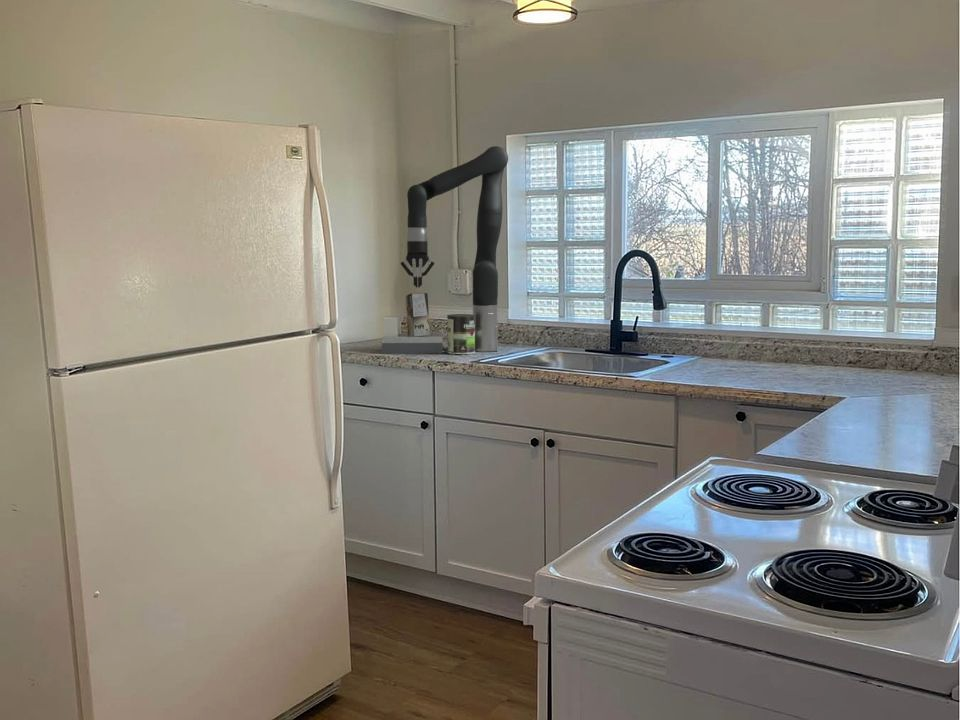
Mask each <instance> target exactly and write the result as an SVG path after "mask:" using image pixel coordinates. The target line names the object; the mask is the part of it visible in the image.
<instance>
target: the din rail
mask: <svg viewBox="0 0 960 720" xmlns="http://www.w3.org/2000/svg"><path fill="white" fill-rule="evenodd" d="M442 340H443V341H444V339H443V332H430V336H426V337H408V332H407V333H406V332H405V333H404V332H399V337H384V336H382V337H381V344H382V343H442Z"/></svg>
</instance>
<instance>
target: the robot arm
mask: <svg viewBox="0 0 960 720" xmlns="http://www.w3.org/2000/svg"><path fill="white" fill-rule="evenodd" d="M508 162H509V154H508V152H507V150H505V149H504V148H503V147H501V146H498V145H497V146H495V145H494V146H490V147H489V148H486V150H485V151H484V152H482V153H481V154H479V155H478V156H477V157H475V158H473V159H472V160H469V161H468V162H465V163H462V164H460V165H458V166H456V167H453V168H450V169H447V170H445V171H442V172H440V173H438V174H436V175H434V176H432V177H431V178H429V179H427V180H425V181H422V182H420V183H417V184H413V185H412V186H410V187H409V188H408V189H407V191H406V192H407V193H406V194H407V195H406V196H407V197H406V198H407V208H408V209H407V210H408V212H407V233H406V251H407V253H406V256H405V259H404V260H403V261H401V262H400V265H401V267H402V268H403V269H404V271H405V273H407V274H408V276H410V277H412V278H413V287H414V286H415V288H421V286H422V285H423V277H424V276H427V275H428V273H429V272H430V271H431V269H432V268H433V267H434V265H435V262H434V261H433V260H431V259H430V257H429V252H428V251H429V250H428V248H429V247H428V246H429V244H428V238H429V237H428V229H427V227H428V225H427V223H428V222H427V220H428V219H427V202H428V201H429V200H431V199H433V198H435V197H437V196H440V195H443V194H445V193H448V192H449V191H452V190H454V189H456V188H458V187H460V186H462V185H464V184H465V183H467V182H469V181H471V180H473V179H475V178H478V177H480V176H481V189H480V195H479V200H478V208H477V215H476V218H477V219H476V254H475V261H474V266H473V269H472V315H475V352H480V353H481V352H483V353H484V352H498V351H499V350H498V349H499V347H498V335H499V334H498V333H499V332H498V329H499V328H498V295H499V293H498V292H499V291H498V290H499V274H498V273H499V272H498V270H497V248H498V243H499V239H500V236H501V230H502V224H503V223H502V222H503V197H502V196H503V195H502V183H503V177H504V176H503V175H504V170H505V168H506V166H507V165H508ZM408 264H409V266H410V267H411V268H412V271H411V269H410V268H409V267H408ZM426 264H427V265H428V267H427V268H426V269H425V271H423V268H424V267H425V266H426ZM417 268H418V270H417ZM417 271H418V272H417Z"/></svg>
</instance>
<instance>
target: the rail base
mask: <svg viewBox="0 0 960 720" xmlns="http://www.w3.org/2000/svg"><path fill="white" fill-rule="evenodd" d="M443 341H444V339H443V340H442V343H382V342H381V354H382V355H430V354H429V353H435V354H434V355H437V354H436V353H438V355H441V354H442V355H443V351H444V346H443V345H444V343H443Z"/></svg>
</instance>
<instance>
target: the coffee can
mask: <svg viewBox="0 0 960 720" xmlns="http://www.w3.org/2000/svg"><path fill="white" fill-rule="evenodd" d="M446 317H447V354H448V353H449V354H448V355H455V354H462V355H461V356H464V355H465V354H468V355H475V353H476V351H475V315H473V314H468V313H466V314H465V313H456V314H454V313H453V314H447V315H446Z"/></svg>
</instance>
